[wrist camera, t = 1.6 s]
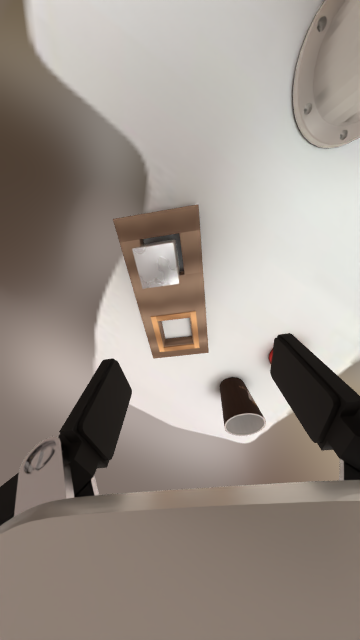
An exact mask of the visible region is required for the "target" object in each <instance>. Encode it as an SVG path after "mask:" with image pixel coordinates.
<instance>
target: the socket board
mask: <svg viewBox="0 0 360 640" xmlns="http://www.w3.org/2000/svg"><path fill="white" fill-rule="evenodd" d="M113 221H114V225H115V228H116V232H117V235H118V239H119V242H120V245H121V249H122V252H123V256H124V259H125V262H126V266H127V269H128V273H129V276H130V280H131V283H132V286H133V290H134V293H135V297H136V300H137V304H138V307H139V310H140V314H141V317H142V321H143V324H144V328H145V331H146V334H147V338H148V341H149V345H150V348H151V352H152V355H153V358H162V357H172V356H181V355H191V354H200V353H209V352H208V337H207V323H206V308H205V294H204V279H203V264H202V250H201V235H200V220H199V206H198V205H192V206H186V207H180V208H175V209H169V210H163V211H157V212H151V213H145V214H141V215H134V216H128V217H122V218H116V219H113ZM177 233H180V241H181V249H182V257H183V265H184V271H183V272H179V284H174V285H167V286H159V287H152V288H145V289H143V288H142V285H141V281H140V277H139V273H138V269H137V266H136V262H135V258H134V254H133V250H132V249H133V248H136V247H139V246H142V245H144V242H143V239H146V238H152V237H158V236H164V235H171V234H177ZM181 318H190V322H191V330H192V336H188V337H179V338H170V339H165V335H164V330H163V326H162V322H161V321H165V320H173V319H181Z"/></svg>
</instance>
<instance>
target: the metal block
mask: <svg viewBox="0 0 360 640" xmlns="http://www.w3.org/2000/svg"><path fill="white" fill-rule="evenodd" d="M132 250H133V254H134V258H135V262H136V266H137V269H138V273H139V277H140V281H141V285H142V288H143V289H145V288H152V287H159V286H167V285H174V284H179V269H180V267H179V260H178V253H177V245H176V239H172V240H166V241H160V242H153V243H148V244H145V245H142V246H139V247H136V248H133V249H132Z"/></svg>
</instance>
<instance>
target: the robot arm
mask: <svg viewBox="0 0 360 640" xmlns="http://www.w3.org/2000/svg"><path fill="white" fill-rule="evenodd" d="M293 107H294V114H295V119H296V121H297V124H298V127H299V129H300V131H301V133H302V134H303V136H304V137H305V138H306V139H307V140H308V141H309V142H310V143H311V144H314V145H316V146H318V147H322V148H335V147H339V146H342V145H345V144H348V143H350V142H352V141H353V140H355V139H357V138H359V137H360V0H325V1H324V2H323V4H322V6H321V7H320V9H319V11H318V12H317V14H316V16H315V18H314V20H313V22H312V24H311V26H310V28H309V30H308V32H307V35H306V38H305V40H304V43H303V46H302V49H301V51H300V55H299V59H298V63H297V67H296V71H295V78H294V86H293ZM270 373H271V376H272V378H273V380H274V382H275V383H276V385H277V386H278V388H279V390H280V391H281V393H282V394H283V396H284V397H285V399H286V401H287V402H288V404H289V405H290V407H291V408H292V410H293V412H294V413H295V415H296V416H297V418H298V420H299V421H300V423H301V424H302V426H303V427H304V429H305V431H306V432H307V434H308V435H309V437H310V438H311V439H312V441H313V442H314V443H318V445H319V447H320V448H321V450H334V451H335V453H336V454H337V456H338V457H339V458H340V476H339V477H340V478H339V481H315V482H298V483H297V482H296V483H279V484H261V485H244V486H228V487H212V488H196V489H181V490H165V491H150V492H135V493H121V494H107V495H99V493H98V489H97V485H96V481H95V477H94V474H95V471H96V469H97V468H105V467H107V466H108V463H109V460H111V459H112V457H113V454H114V451H115V448H116V444H117V441H118V438H119V434H120V431H121V428H122V425H123V421H124V418H125V415H126V411H127V408H128V405H129V401H130V398H131V395H132V390H131V387H130V385H129V383H128V381H127V379H126V377H125V375H124V373H123V371H122V369H121V367H120V365H119V363H118V361H115V359H106V360H103V361H102V362H101V364H100V366H99V367H98V369H97V371H96V372H95V374H94V376H93V377H92V379H91V381H90V382H89V384H88V385H87V387H86V389H85V390H84V392H83V394H82V395H81V397H80V399H79V400H78V402H77V404H76V405H75V407H74V408H73V410H72V412H71V414H70V415H69V417H68V418H67V420H66V422H65V423H64V425H63V426H62V428H61V430H60V431H59V432H60V435H59V437H56V436H54V437H53V436H52V437H49V438H46V439H44V440H43V441H41V442H40V443H38V444H37V445H36V446H35V447H34V448H33V449H32V450H31V451H30V452H29V453H28V454H27V456H26V457H25V458H24V460H23V462H22V464H21V466H20V470H19V473H18V474H16V475H15V476H14V477H12V478H11V479H10V480H9V481H7V482H6V483H5V484H4V485H2V486H1V487H0V640H360V396H359V395H358V394H357V393H356V392H355V391H354V390H353V389H351V388H350V387H349V386H348V385H347V384H346V383H345V382H344V381H343V380H342V379H341V378H339V377H338V376H337V375H336V374H335V373H334V372H333V371H332V370H331V369H330V368H328V367H327V366H326V365H325V364H324V363H323V362H322V361H321V360H320V359H319V358H317V357H316V356H315V355H314V354H313V353H312V352H311V351H310V350H309V349H307V348H306V347H305V346H304V345H303V344H302V343H301V342H300V341H299V340H298V339H297V338H295V337H294V336H293V335H292V334H290V333H288V334H281V335H278V336H277V338H275V340H274V347H273V355H272V362H271V370H270Z"/></svg>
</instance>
